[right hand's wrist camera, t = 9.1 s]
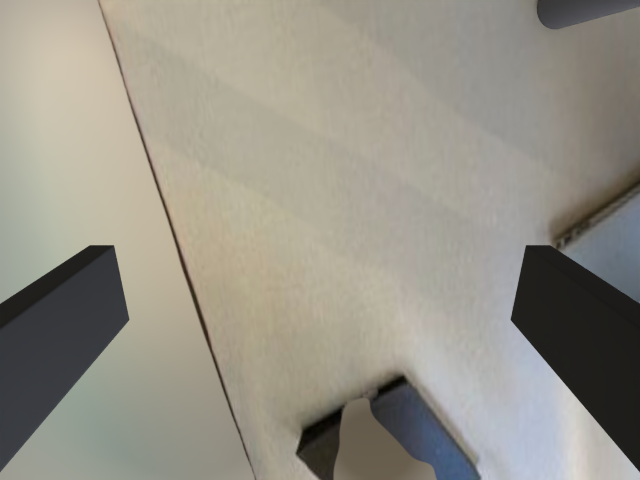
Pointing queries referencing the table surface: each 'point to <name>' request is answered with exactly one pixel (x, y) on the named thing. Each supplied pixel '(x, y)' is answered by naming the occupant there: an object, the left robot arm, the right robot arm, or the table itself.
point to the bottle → (579, 10)
